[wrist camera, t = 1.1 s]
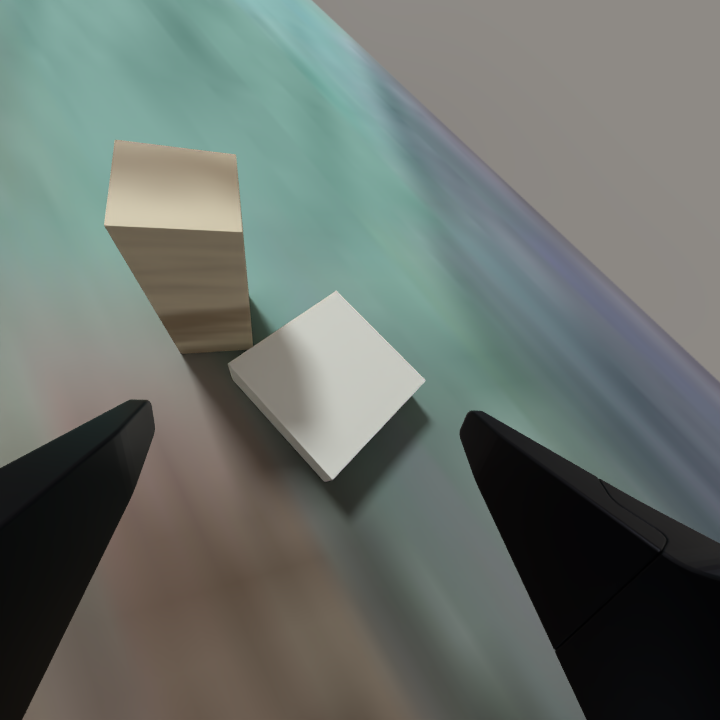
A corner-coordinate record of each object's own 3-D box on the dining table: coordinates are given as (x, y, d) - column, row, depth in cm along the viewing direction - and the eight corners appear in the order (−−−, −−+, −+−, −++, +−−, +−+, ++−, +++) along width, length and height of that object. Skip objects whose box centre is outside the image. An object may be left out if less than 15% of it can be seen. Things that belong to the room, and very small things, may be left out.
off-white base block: (324, 482, 21) (332, 479, 19) (232, 379, 23) (227, 363, 20) (409, 392, 26) (425, 380, 24) (329, 310, 27) (336, 290, 25)
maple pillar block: (253, 349, 24) (242, 232, 13) (181, 353, 22) (103, 225, 12) (248, 295, 26) (235, 154, 15) (181, 296, 24) (114, 139, 14)
